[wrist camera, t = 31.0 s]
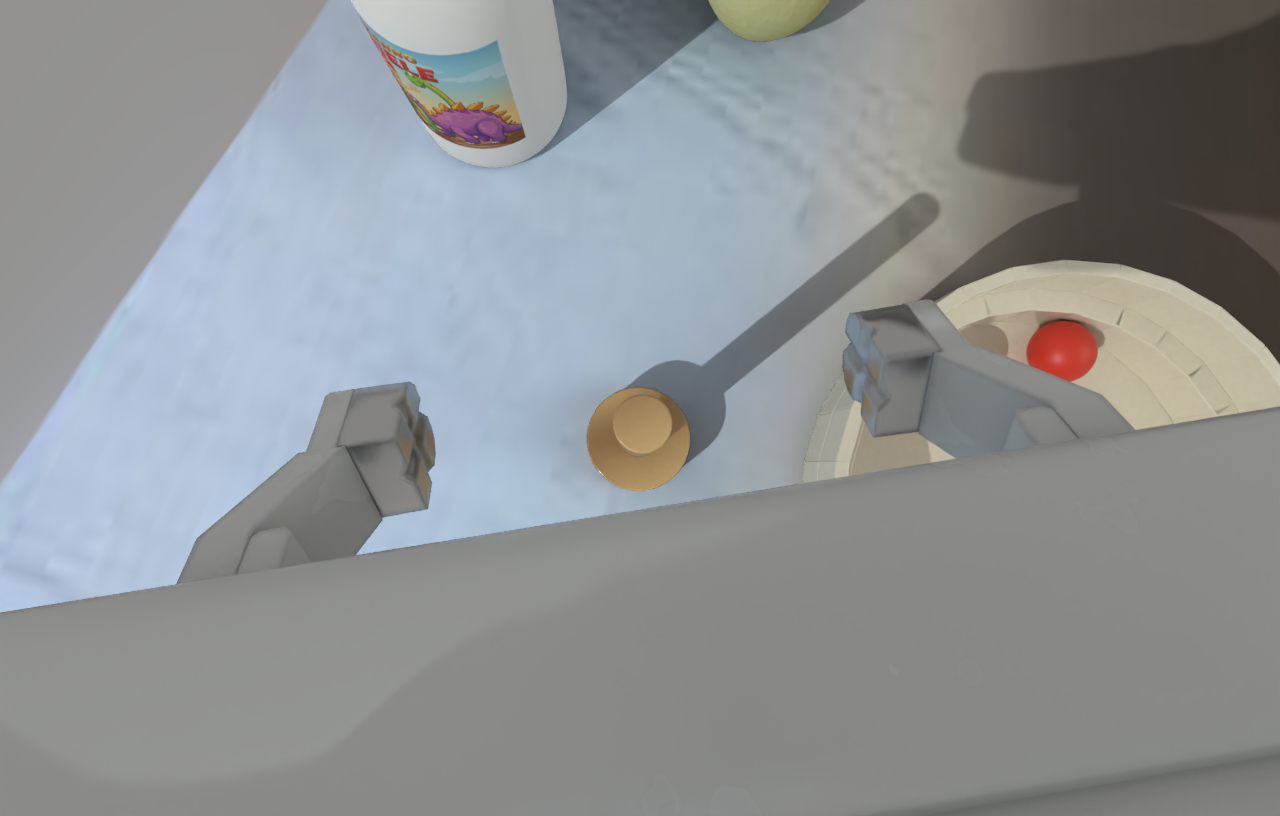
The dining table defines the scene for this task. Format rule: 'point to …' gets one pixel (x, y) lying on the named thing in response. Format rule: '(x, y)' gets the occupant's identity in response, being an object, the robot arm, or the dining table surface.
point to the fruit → (766, 16)
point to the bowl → (1123, 372)
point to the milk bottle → (475, 72)
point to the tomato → (1063, 350)
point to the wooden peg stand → (638, 439)
